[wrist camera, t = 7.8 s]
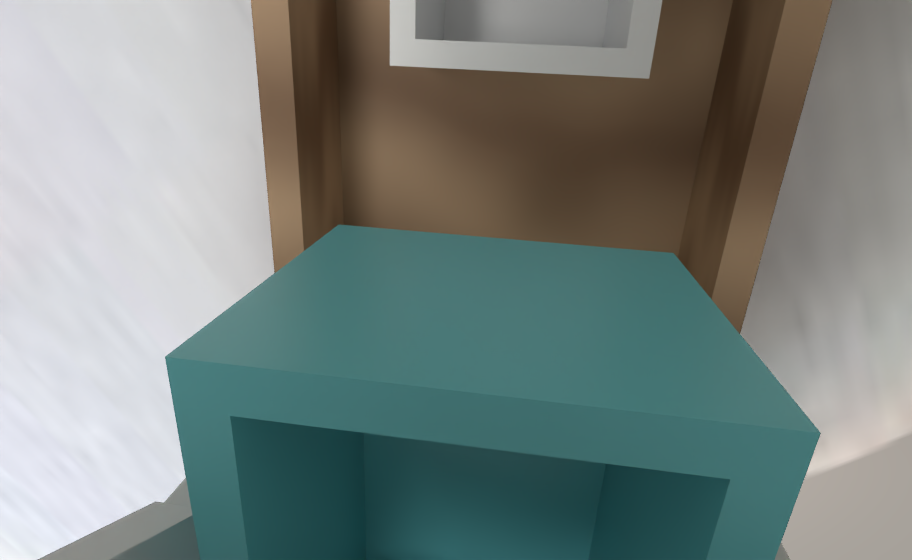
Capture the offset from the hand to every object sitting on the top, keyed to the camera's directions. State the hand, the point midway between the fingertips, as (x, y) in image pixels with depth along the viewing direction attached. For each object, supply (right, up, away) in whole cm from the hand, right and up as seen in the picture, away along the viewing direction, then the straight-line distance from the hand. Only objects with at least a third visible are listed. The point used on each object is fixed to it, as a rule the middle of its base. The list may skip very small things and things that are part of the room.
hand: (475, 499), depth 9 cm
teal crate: (0, +1, +2) cm, 2 cm away
